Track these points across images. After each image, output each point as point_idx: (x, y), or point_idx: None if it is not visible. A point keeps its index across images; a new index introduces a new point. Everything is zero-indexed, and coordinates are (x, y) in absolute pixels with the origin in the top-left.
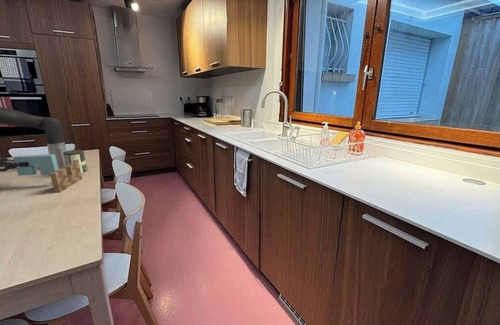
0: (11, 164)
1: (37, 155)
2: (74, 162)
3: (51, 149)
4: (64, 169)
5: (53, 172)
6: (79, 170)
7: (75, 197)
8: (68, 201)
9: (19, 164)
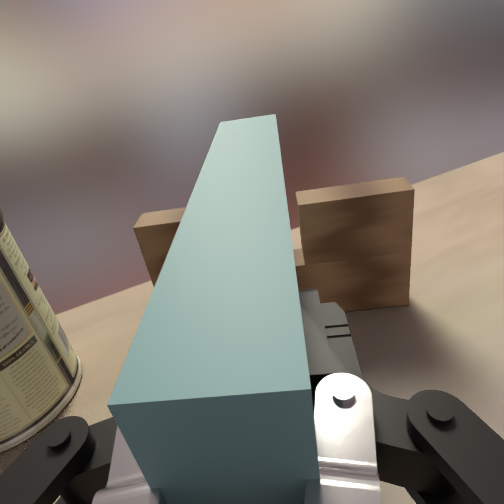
0: (487, 425)
1: (233, 165)
2: (36, 285)
3: None
4: (307, 191)
5: (383, 191)
6: None
7: (438, 218)
8: (482, 215)
9: (361, 377)
